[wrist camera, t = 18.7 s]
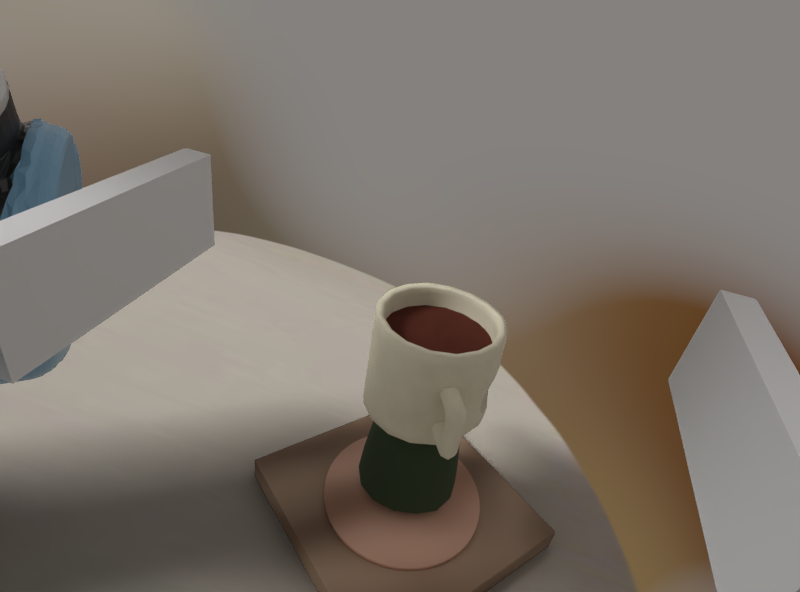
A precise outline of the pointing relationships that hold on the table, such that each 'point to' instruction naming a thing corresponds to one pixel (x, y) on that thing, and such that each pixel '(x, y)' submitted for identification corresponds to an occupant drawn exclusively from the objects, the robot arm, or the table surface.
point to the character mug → (425, 390)
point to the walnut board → (396, 521)
